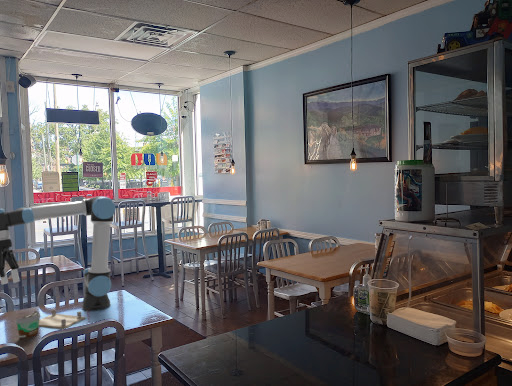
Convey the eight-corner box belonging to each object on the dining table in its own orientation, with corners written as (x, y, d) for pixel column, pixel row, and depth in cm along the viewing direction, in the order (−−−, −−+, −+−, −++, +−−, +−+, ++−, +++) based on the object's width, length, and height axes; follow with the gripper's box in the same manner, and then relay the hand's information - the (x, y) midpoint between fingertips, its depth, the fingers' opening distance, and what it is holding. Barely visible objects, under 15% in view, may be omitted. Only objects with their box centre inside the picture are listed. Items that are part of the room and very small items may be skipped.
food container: (28, 340, 187) (27, 319, 187) (16, 340, 188) (15, 319, 188) (47, 330, 199) (46, 310, 199) (36, 330, 200) (35, 310, 200)
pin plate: (53, 315, 221) (53, 308, 221) (85, 318, 215) (84, 311, 214) (31, 325, 207) (30, 317, 206) (64, 329, 200) (63, 321, 200)
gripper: (4, 243, 208) (13, 283, 206) (-19, 241, 184) (-10, 287, 182) (20, 239, 210) (28, 279, 207) (-2, 237, 185) (8, 282, 183)
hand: (11, 283), depth 194 cm, fingers open, 13 cm apart
